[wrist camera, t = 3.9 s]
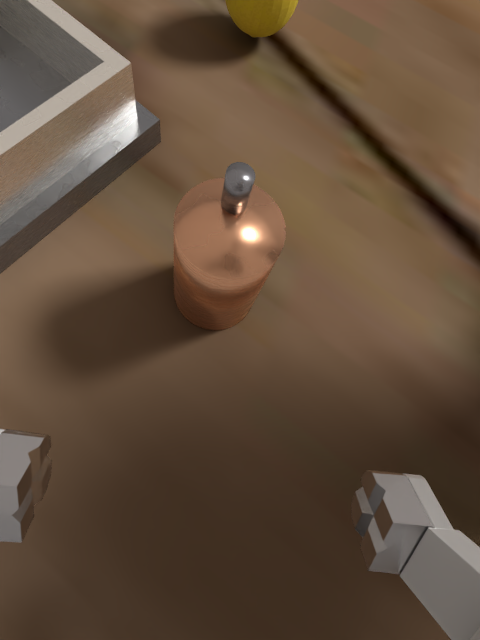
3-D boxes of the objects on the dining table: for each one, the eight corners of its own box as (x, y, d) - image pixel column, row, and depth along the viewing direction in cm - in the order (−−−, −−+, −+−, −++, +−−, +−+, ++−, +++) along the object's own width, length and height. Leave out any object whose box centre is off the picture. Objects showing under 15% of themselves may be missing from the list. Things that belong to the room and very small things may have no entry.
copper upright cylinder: (249, 335, 25) (294, 266, 16) (167, 323, 24) (163, 244, 15) (256, 262, 27) (302, 160, 17) (180, 249, 26) (184, 136, 17)
